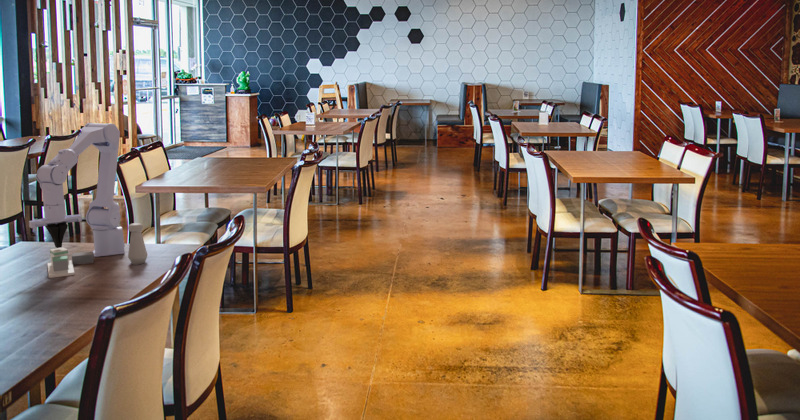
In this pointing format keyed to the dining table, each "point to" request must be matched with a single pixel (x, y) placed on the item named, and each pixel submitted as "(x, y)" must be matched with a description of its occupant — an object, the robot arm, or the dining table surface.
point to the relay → (82, 258)
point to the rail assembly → (60, 267)
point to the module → (58, 253)
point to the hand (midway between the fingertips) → (58, 247)
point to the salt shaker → (136, 244)
